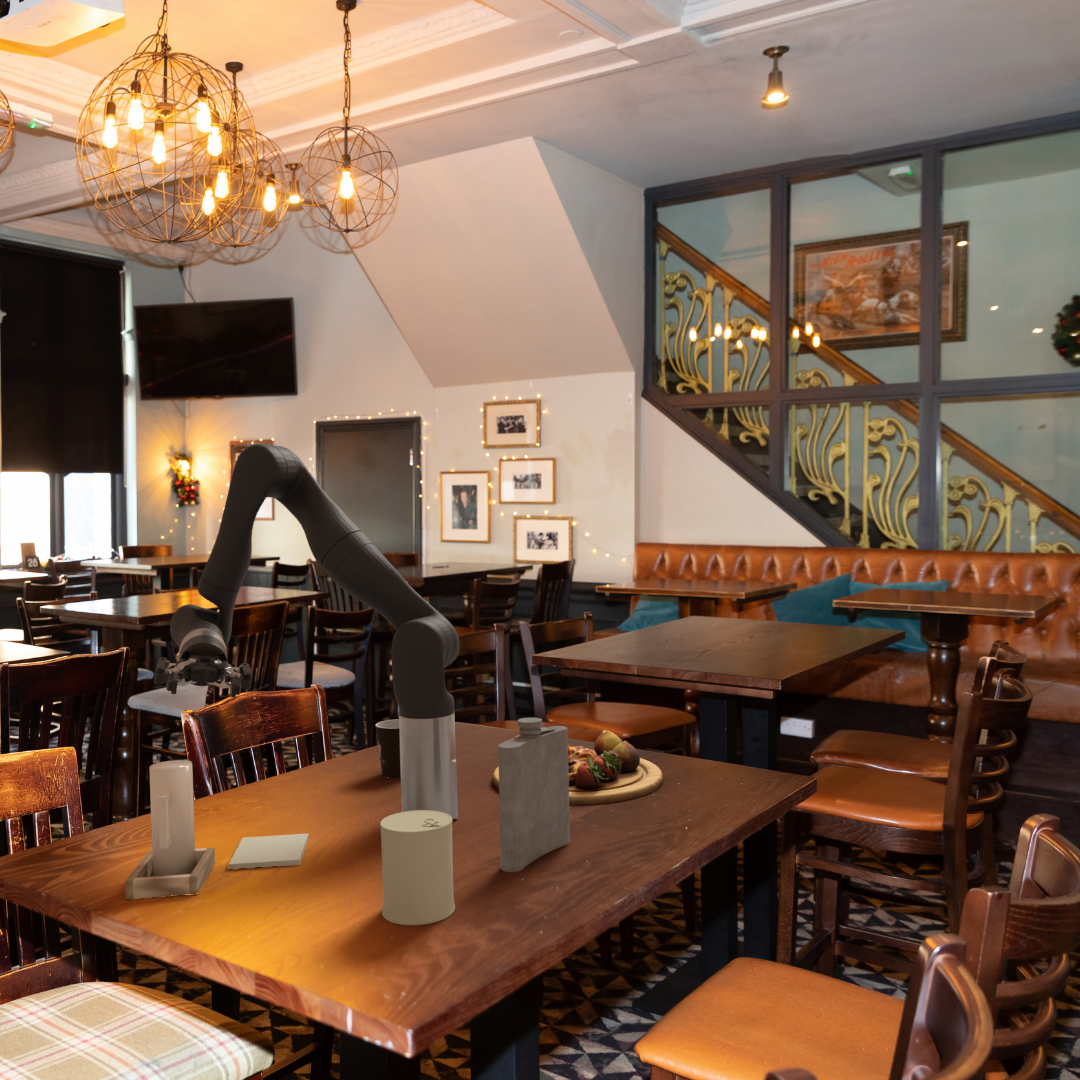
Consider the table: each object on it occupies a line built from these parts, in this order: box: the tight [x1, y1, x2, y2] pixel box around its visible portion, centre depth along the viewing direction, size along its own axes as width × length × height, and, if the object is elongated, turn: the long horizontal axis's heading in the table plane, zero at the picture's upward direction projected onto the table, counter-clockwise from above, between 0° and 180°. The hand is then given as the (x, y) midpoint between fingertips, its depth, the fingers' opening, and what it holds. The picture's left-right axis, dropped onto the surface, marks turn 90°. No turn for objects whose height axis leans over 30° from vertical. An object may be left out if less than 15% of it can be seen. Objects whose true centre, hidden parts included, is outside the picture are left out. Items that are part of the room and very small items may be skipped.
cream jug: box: [149, 759, 196, 877], centre depth 136 cm, size 6×8×16 cm
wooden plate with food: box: [492, 729, 664, 806], centre depth 184 cm, size 32×32×8 cm
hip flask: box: [497, 717, 571, 873], centre depth 144 cm, size 16×4×20 cm, turn 147°
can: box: [379, 810, 456, 926], centre depth 124 cm, size 9×9×12 cm
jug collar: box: [124, 847, 216, 900], centre depth 136 cm, size 9×12×2 cm
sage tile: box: [227, 833, 310, 870], centre depth 147 cm, size 10×12×1 cm
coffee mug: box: [375, 718, 401, 779], centre depth 193 cm, size 12×9×10 cm
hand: (204, 689), depth 147 cm, fingers open, 8 cm apart
